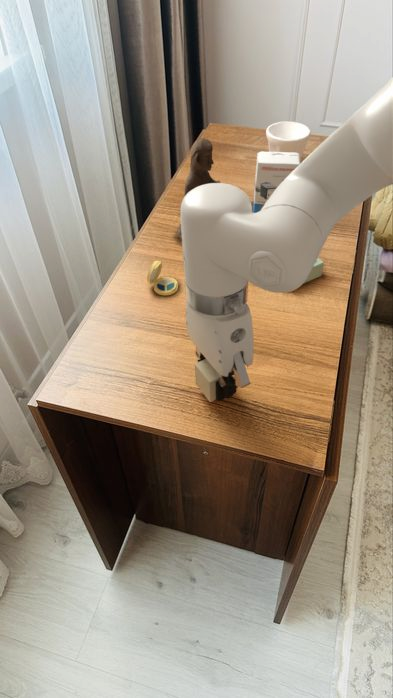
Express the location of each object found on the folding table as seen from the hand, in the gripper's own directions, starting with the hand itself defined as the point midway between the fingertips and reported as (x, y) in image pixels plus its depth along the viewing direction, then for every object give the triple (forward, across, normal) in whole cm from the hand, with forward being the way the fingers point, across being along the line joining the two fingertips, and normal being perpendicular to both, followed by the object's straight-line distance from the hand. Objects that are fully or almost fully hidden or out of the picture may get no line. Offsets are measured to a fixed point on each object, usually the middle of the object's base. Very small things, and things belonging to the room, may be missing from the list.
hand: (217, 384), depth 73 cm
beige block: (0, 0, 0) cm, 0 cm away
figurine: (+2, +36, -19) cm, 41 cm away
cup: (+2, +48, -50) cm, 69 cm away
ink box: (+2, +35, -37) cm, 51 cm away
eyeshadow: (+2, +25, -5) cm, 26 cm away
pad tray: (+2, +20, -27) cm, 34 cm away
